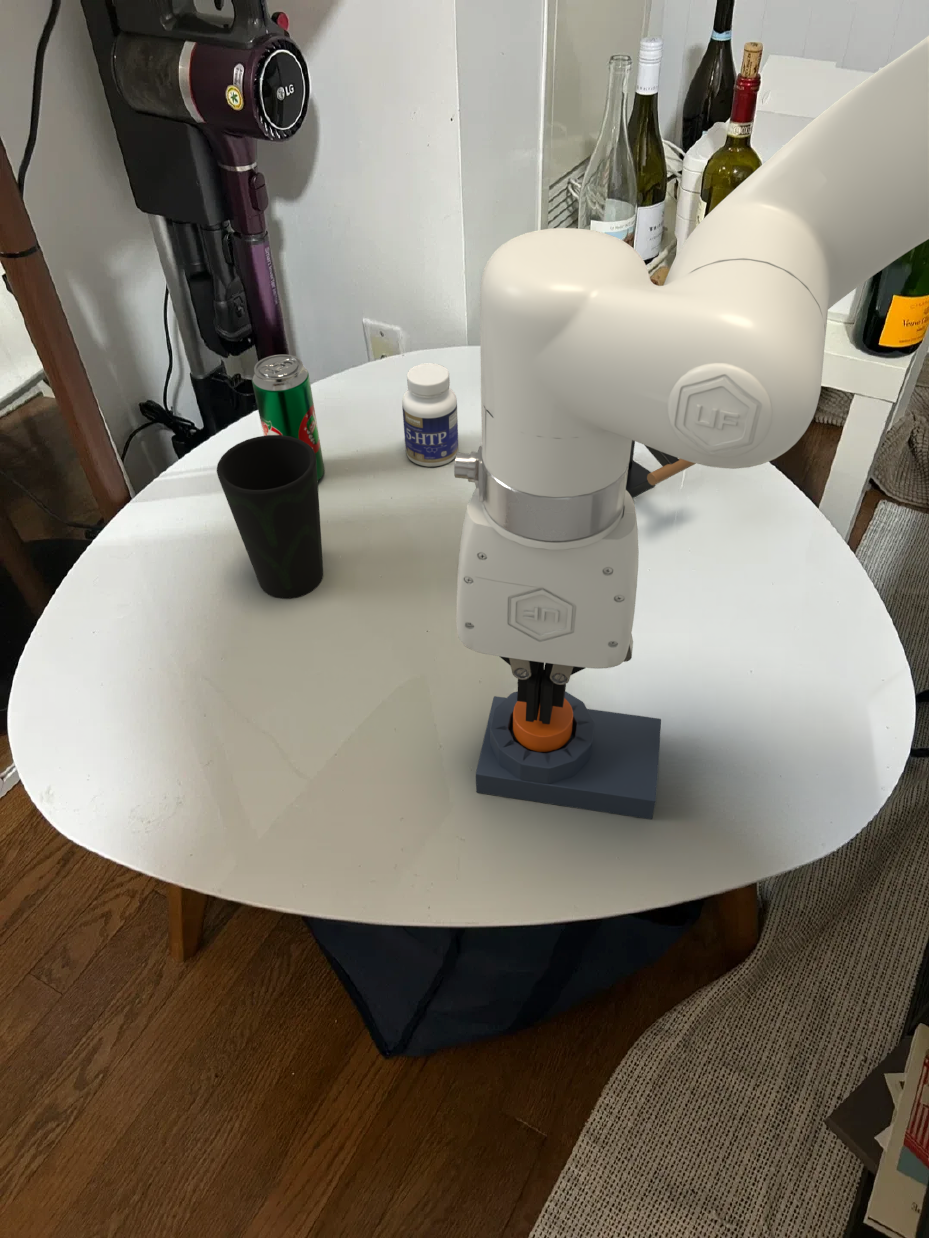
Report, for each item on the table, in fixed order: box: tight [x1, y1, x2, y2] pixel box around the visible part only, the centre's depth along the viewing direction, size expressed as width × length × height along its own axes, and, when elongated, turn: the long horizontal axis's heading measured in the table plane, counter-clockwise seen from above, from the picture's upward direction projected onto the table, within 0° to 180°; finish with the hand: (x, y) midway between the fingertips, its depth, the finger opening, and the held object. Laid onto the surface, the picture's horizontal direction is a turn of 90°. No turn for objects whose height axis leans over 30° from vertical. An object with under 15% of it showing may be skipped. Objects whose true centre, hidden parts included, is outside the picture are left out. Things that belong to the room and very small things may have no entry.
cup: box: [216, 435, 324, 600], centre depth 76 cm, size 8×8×12 cm
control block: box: [475, 690, 662, 820], centre depth 64 cm, size 12×7×4 cm, turn 79°
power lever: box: [644, 445, 698, 486], centre depth 80 cm, size 12×6×2 cm, turn 36°
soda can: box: [251, 354, 325, 481], centre depth 86 cm, size 5×5×12 cm
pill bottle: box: [401, 362, 459, 467], centre depth 89 cm, size 5×5×9 cm
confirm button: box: [513, 698, 573, 752], centre depth 62 cm, size 4×4×2 cm
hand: (540, 706), depth 61 cm, fingers closed
